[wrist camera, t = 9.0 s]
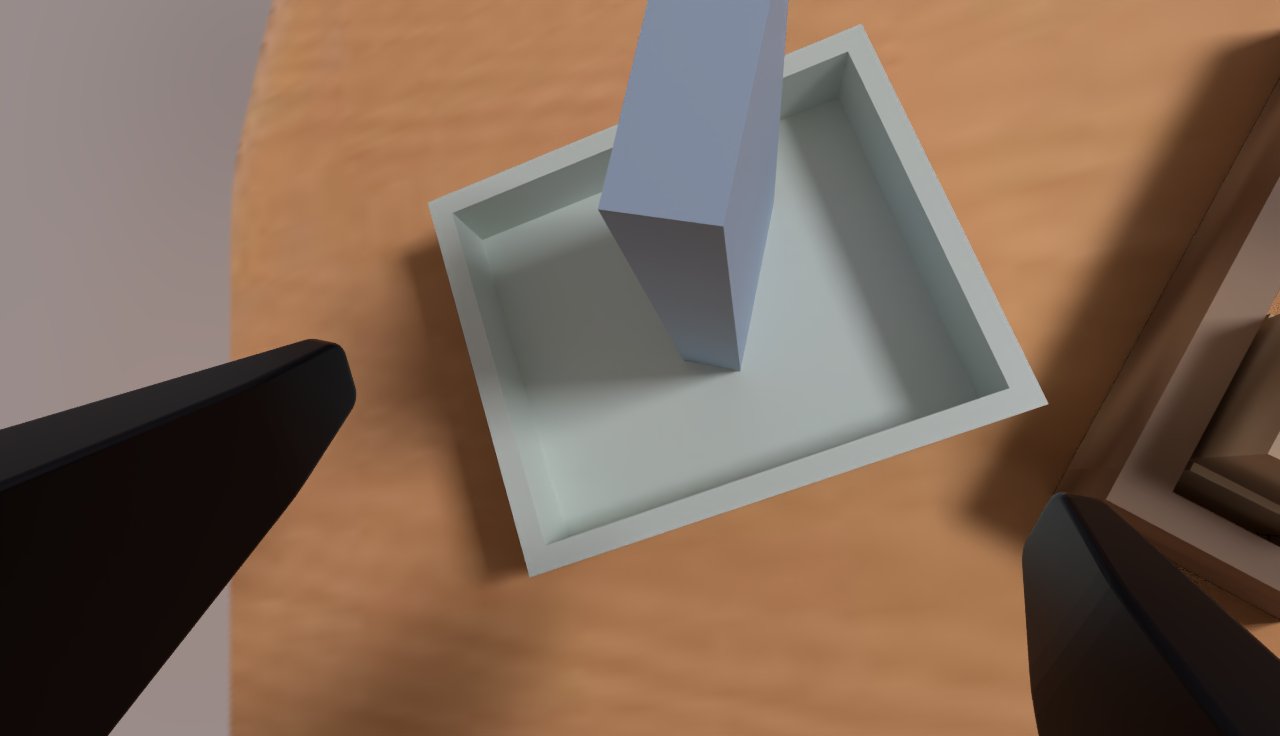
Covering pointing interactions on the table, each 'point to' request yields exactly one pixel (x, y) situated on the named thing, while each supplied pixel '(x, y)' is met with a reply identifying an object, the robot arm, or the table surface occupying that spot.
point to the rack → (1195, 381)
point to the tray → (777, 338)
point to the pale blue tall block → (699, 166)
